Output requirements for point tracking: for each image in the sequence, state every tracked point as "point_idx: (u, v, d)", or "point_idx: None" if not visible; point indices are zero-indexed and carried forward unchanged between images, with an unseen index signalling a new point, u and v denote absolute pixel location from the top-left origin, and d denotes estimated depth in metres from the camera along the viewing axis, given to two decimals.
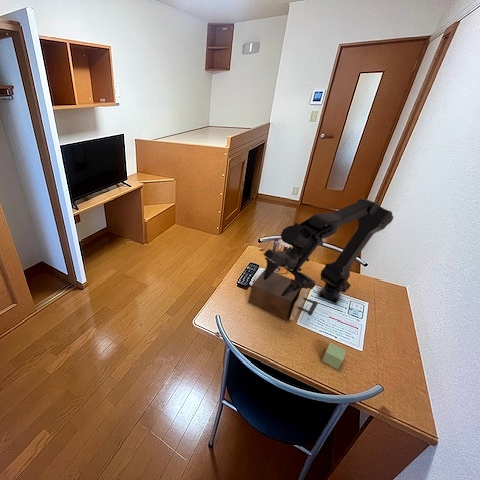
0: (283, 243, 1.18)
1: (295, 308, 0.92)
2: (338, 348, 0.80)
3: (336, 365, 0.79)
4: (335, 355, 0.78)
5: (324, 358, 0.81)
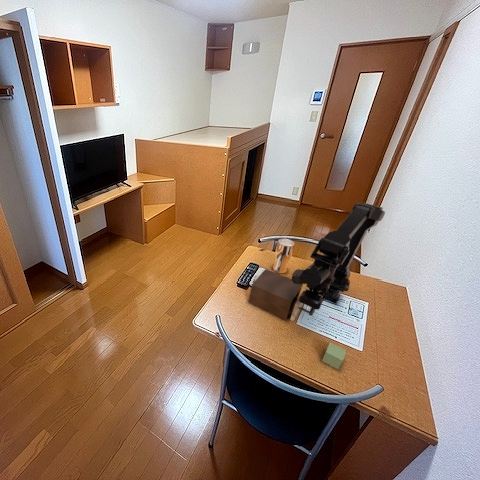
0: (283, 243, 1.18)
1: (296, 308, 0.91)
2: (338, 348, 0.80)
3: (336, 365, 0.79)
4: (335, 355, 0.78)
5: (324, 358, 0.81)
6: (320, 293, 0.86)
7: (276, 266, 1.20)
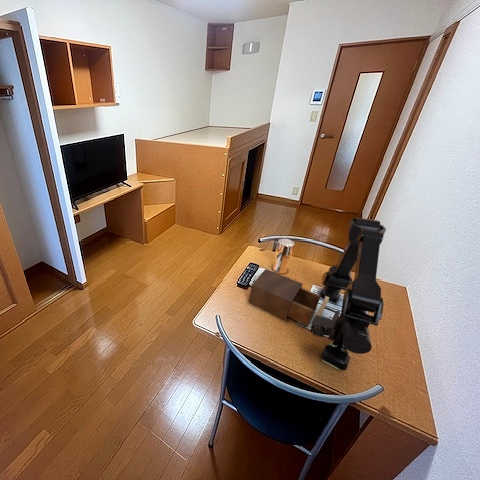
0: (283, 243, 1.18)
1: None
2: None
3: None
4: None
5: None
6: None
7: (276, 266, 1.20)
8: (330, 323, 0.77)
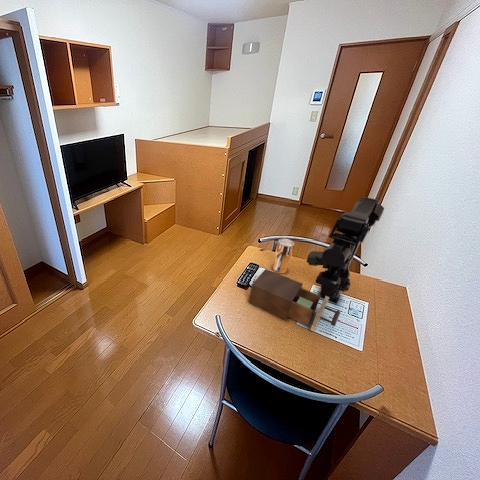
0: (283, 243, 1.18)
1: (317, 318, 0.87)
2: (306, 300, 0.95)
3: None
4: (303, 305, 0.93)
5: None
6: None
7: (276, 266, 1.20)
8: None
